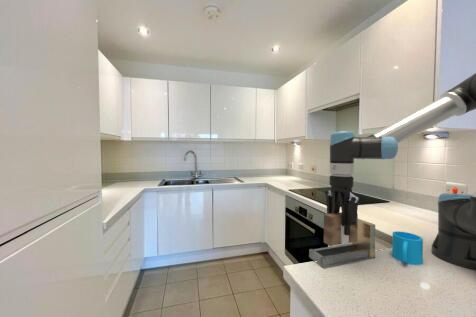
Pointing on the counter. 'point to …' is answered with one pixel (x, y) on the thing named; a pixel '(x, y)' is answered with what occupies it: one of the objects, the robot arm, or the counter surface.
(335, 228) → the door panel
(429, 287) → the counter surface
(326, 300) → the counter surface
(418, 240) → the mug
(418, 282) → the counter surface
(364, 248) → the door track
